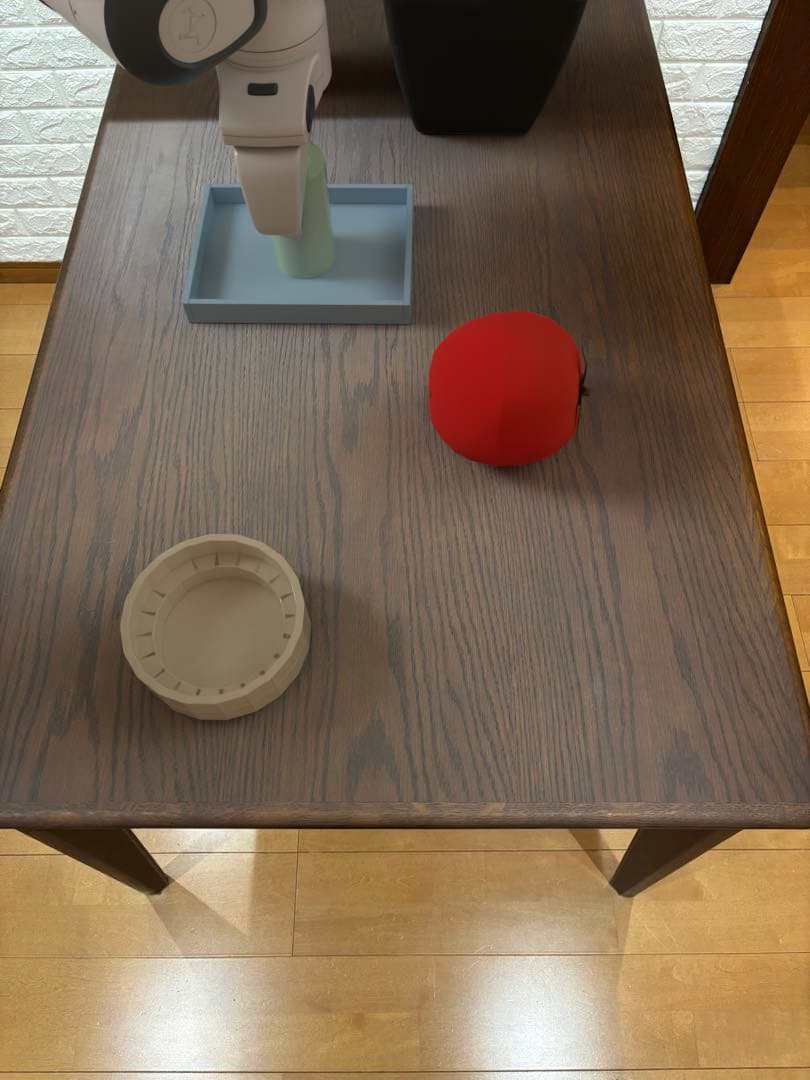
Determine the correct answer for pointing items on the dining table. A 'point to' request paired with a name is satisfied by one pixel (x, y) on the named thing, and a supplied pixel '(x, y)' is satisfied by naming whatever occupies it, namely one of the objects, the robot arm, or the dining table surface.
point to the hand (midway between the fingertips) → (296, 202)
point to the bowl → (216, 626)
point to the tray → (332, 298)
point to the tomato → (507, 388)
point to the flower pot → (479, 60)
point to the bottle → (310, 227)
